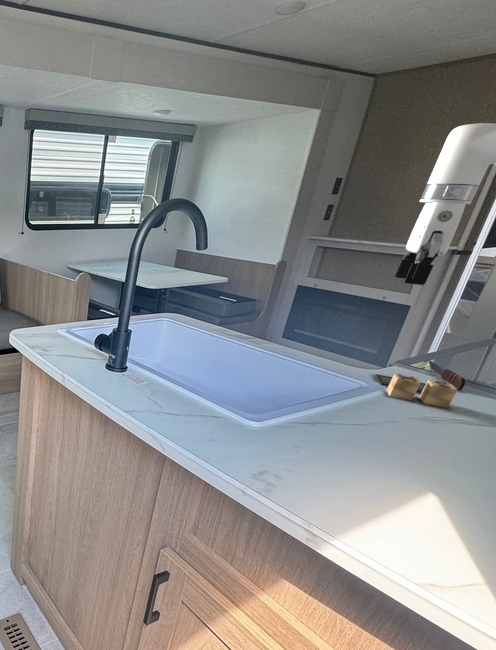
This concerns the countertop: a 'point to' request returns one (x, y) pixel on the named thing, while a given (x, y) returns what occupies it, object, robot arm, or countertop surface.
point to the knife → (448, 376)
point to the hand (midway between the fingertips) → (408, 280)
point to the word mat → (386, 381)
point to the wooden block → (403, 386)
